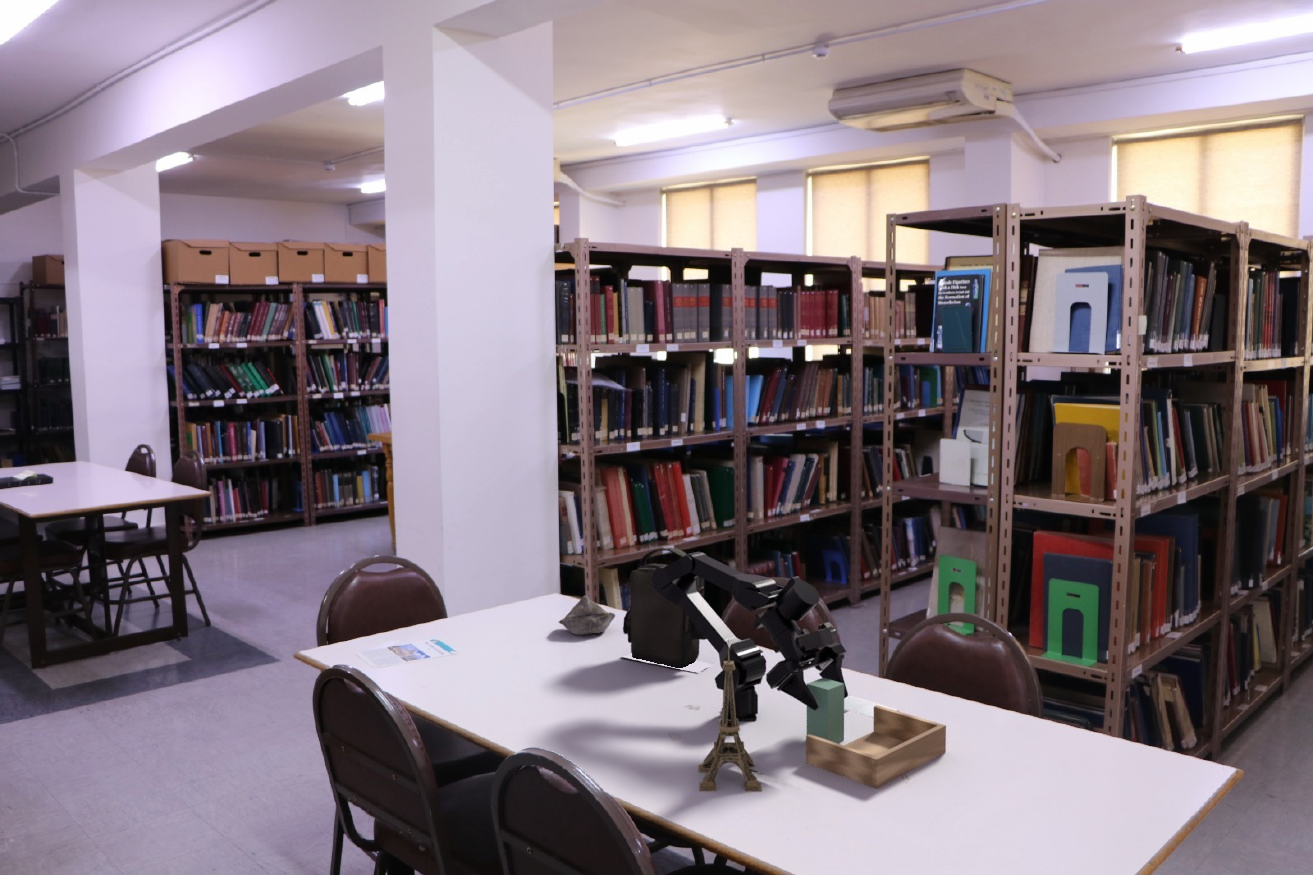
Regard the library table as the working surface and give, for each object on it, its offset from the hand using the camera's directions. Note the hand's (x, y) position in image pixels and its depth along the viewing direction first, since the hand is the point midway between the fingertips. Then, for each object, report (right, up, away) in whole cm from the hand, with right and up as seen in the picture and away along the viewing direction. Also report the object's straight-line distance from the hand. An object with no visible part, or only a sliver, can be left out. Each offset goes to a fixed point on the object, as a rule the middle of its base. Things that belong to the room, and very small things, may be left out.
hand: (831, 703), depth 188 cm
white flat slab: (+10, -8, +20) cm, 23 cm away
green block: (-1, -9, +2) cm, 9 cm away
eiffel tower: (-20, -10, -12) cm, 26 cm away
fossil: (-52, -3, +82) cm, 97 cm away
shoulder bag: (-30, -5, +55) cm, 63 cm away
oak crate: (+7, -9, -7) cm, 13 cm away
